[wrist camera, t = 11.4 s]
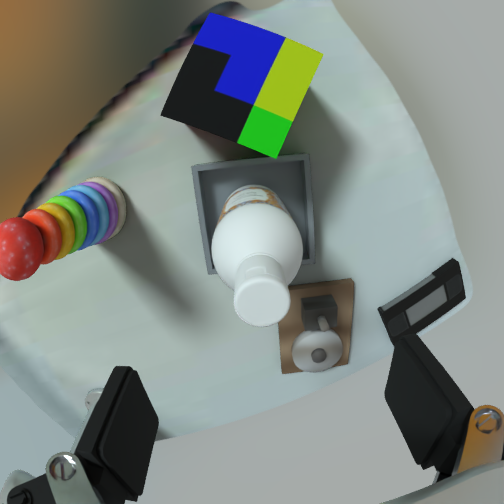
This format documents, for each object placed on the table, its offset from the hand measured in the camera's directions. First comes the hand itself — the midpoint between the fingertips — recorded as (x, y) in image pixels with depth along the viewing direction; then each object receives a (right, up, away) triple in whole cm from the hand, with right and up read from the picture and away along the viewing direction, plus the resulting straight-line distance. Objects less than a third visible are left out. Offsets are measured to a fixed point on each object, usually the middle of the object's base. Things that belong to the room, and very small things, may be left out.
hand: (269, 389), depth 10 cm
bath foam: (0, +9, +24) cm, 26 cm away
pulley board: (+8, -6, +30) cm, 32 cm away
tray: (0, +9, +25) cm, 26 cm away
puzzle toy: (-2, +22, +20) cm, 30 cm away
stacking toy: (-19, +10, +24) cm, 33 cm away
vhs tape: (+25, -2, +30) cm, 39 cm away
